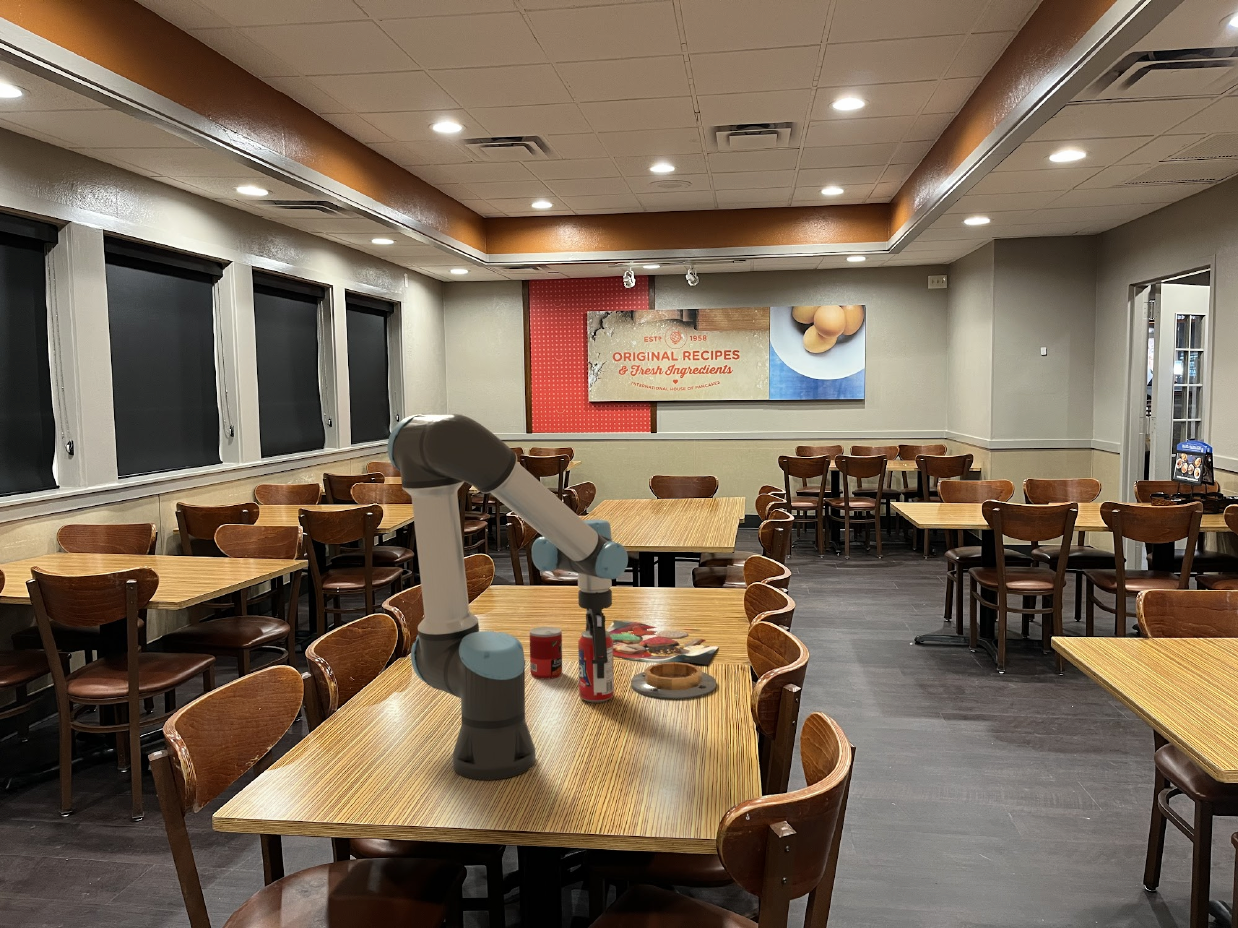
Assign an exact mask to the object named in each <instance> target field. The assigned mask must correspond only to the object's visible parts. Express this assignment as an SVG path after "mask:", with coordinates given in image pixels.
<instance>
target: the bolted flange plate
mask: <svg viewBox="0 0 1238 928" xmlns="http://www.w3.org/2000/svg"><path fill="white" fill-rule="evenodd" d="M716 681H717V680H716V678H715V677H713V676H712V675H711V674H709V673H706V672H703V671H702V669H701V668H700V667H699V666H697V665H694V664H692V663H691V664H690V663H688V662H679V661H677V662H665V663H654V664H652V665H651V664H650V665H648V667H647V668H644V671H642V672H639V673H637V674H635V675H633V677H632V678H631V679H630V687H631V689H632V690H633V691H634V692H636V693H638V694H640V695H641V696H645V697H648V698H653V697H654V698H653V699H661V700H688V699H689V700H690V699H697V698H700V697H703V696H706V695H708V694H711V693H712V692H714V691H715V689H716V688H717V682H716Z"/></svg>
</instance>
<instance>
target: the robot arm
mask: <svg viewBox="0 0 1238 928" xmlns="http://www.w3.org/2000/svg"><path fill="white" fill-rule="evenodd" d="M386 447H387V456H388V458H389V461H390V463H391V465H392V466H393V467H394V468H395V469H396V470H397V471H399V473H400V479H401V488H402V490H403V491H404V492H405V493H407V494H408V495H410V497H411V504H412V511H413V513H412V515H413V522H414V523H413V524H414V532H415V540H416V542H415V543H416V550H417V558H418V568H419V576H420V586H421V595H422V596H421V597H422V604H423V614H424V615H423V616H424V618H423V619H422V620H421V621H420V622H419V624H418V625H417V633H418V634H417V636H416V638H415V639H416V640H414V642H413V643H412V646H411V649H410V662H411V666H412V668H413V671H414V673H415V674H416V676H417V677H418V678H419V679H420V680H421V681H422V682H424V683H425V684H427V685H428V686H429V687H431V688H433V689H435V690H438V691H442V692H444V693H446V694H450V695H451V696H454V697H456V698H459V699H460V701H461V702H460V706H461V707H460V711H461V724H460V728H459V732H458V736H457V739H456V742H455V746H454V748H453V753H452V768H453V771H454V772H455V773H456V774H458V775H460V776H462V777H465V778H467V779H473V780H480V781H482V780H484V781H491V780H502V779H507V778H508V779H509V778H512V777H515V776H518V775H521V774H523V773H525V772H528V771H529V770H530V769H531V768H533V766H535V764H536V748H535V743H534V741H533V738H532V735H531V733H530V730H529V727H528V725H527V724H528V723H527V721H526V701H525V700H526V693H525V692H526V691H525V689H526V687H525V685H526V682H525V680H526V679H525V678H526V676H525V674H526V672H525V671H526V670H525V669H526V660H525V659H526V658H525V653H524V646H523V644H522V643H521V641H520V639H518V638H517V637H515V636H514V635H511V634H509V633H506V632H502V631H498V632H496V631H493V630H483V631H480V626H479V618H478V616H476V615H475V614H474V613H472V612H471V611H470V605H469V595H468V587H467V585H468V584H467V577H466V567H465V565H466V564H465V557H464V548H463V546H464V545H463V537H462V528H461V527H462V526H461V516H460V509H459V508H460V507H459V498H458V490H459V489H460V488H461V487H462V485H463V484H464V483H468V484H469V485H470V486H471V487H474V488H475V489H477V490H478V492H480V493H482V494H491V495H492V496H494V498H496V499H497V500H498V501H499V502H501V503H502V504H503V505H505V507H507V508H508V509H510V511H512V512H513V513H514V514H515V515H516V516H518V517H519V518H520V519H521V520H523V521H524V522H525V523H526V524H528V525H529V526H530V527H531V528H533V529H534V530H535V531H536V532H538V534H540V535H541V536H540V537H538V538H536V539H535V540H534V542H533V544H532V546H531V559H532V562H533V565H534V566H535V567H536V569H538V570H539V571H541V572H544V573H545V572H555V571H565V572H571V573H576V574H577V588H579V591H578V592H577V593H578V595H577V596H578V597H577V598H578V606H579V608H581V609H586V613H585V620H586V621H585V631H589V632H590V635H591V636H592V640H593V650H594V660H592V661H591V664H593V666H594V693H599V692H607V684H606V663H607V662H608V659H607V648H606V634H605V631H606V615H604V612H603V609H608V608H610V607H611V606H612V604H613V593H612V592H613V590H611V588H612V580H615V579H618V578H620V577H621V576H622V575H623V574H624V573H625V571H626V568H627V567H628V562H629V555H628V551H627V549H626V548H625V546H624V545H623V544H621V543H619V542H616V541H613V538H612V529H611V524H610V522H609V521H607V520H606V519H605V520H604V519H596V518H595V519H582V517H580V516H579V515H578V514H576V513H575V512H574V511H573V510H572V509H571V508H570V507H569V506H568V505H566V503H564V502H563V501H562V500H561V499H560V498H559V497H557V496H556V495H555V494H554V493H553V492H552V491H551V490H550V489H549V488H548V487H546V486H545V485H544V484H543V483H542V482H540V481H539V479H537V478H536V477H535V476H534V475H533V474H532V473H530V472H529V471H528V470H527V469H526V468H525V467H523V466H522V465H521V464H520V463H519V462H518V456H517V453H516V452H515V451H514V450H513V449H512V448H511V447H509V445H507V443H505V442H504V441H503V440H502V439H500V438H499V437H498V436H497V435H496V434H494V433H493V432H492V431H490V430H489V429H488V428H486V427H485V426H483V425H482V424H481V423H479V422H478V421H476V420H474V419H472V418H471V417H468V416H465V415H463V414H460V413H459V414H458V413H445V414H444V413H443V414H442V413H441V414H439V413H436V414H435V413H420V414H414V415H410V416H408V417H405V418H403V419H402V420H400V421H399V422H398V423H397V424H396V425H395V427H394V428H393V429H392V430H391V432H390V435H389V437H388V441H387V446H386ZM599 656H603V657H599Z"/></svg>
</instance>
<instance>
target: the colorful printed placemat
mask: <svg viewBox="0 0 1238 928" xmlns="http://www.w3.org/2000/svg"><path fill="white" fill-rule="evenodd" d="M657 628H658V627H656V626H654V625H653V626H651V625H648V624H645V623H642V622H636V621H628V620H627V621H626V620H616V619H615V620H613V621H612V622H611V624H610V625H609V626H608V627H607V628H606V629H605V631H608V632H610V636H611V638H612V639H613V658H617V659H620V658H622V659H621V660H625V661H627V662H629V661H628V660H630V662H631V661H638V662H639V661H640V662H646V663H654V664H659V663H669V662H679V663H689V664H690V663H691V664H692V663H693V664H699V665H709V664H710V661H711V660H712V658H713V656H714V654H715V653H716V650H717V649H718V648H719V646H715V645H705V644H702V643H704V642H706V639H703V638H694V639H691V640H689V641H688V642H686V643H684V644H683V645H681V646H680V643H679V642H678V641H676V640H680V639H685V638H688V637H690V635H689V634H688V633H687V632H686V631H691V632H692V631H694V632H695V631H700V629H691V628H683V630H684V631H680V630H679V631H678V630H663V631H659V632H658V631H656V630H652V629H657ZM647 629H648V630H647ZM628 631H633V632H631V633H629V632H628ZM621 632H626V633H623V634H622V633H621ZM656 632H657V633H656ZM633 634H634V635H633ZM644 636H653V637H649V638H646V639H644V638H643V637H644ZM677 646H680V647H677Z"/></svg>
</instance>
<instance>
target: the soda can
mask: <svg viewBox="0 0 1238 928" xmlns="http://www.w3.org/2000/svg"><path fill="white" fill-rule="evenodd" d="M605 634H606V648H607V659H608V662H607V663H606V684H607V692H599V693H594V666H593V664H591V661H592V660H594V650H593V640H592V636H591V635H590V632H589V631H586V630H585V631H583V632H581V634H580V635H581V636H580V638H579V639H578V640H577V641H578V642H577V643H578V646H577V648H578V649H577V650H578V695H579V697H580V698H581V699H582V700H585V701H586V702H587V703H594V704H597V703H599V704H600V703H605V702H607V701H609V700H610V699H612V698H614V695H615V687H614V686H615V682H614V681H615V680H614V679H615V677H614V674H615V673H614V672H615V670H614V666H615V665H614V656H613V639H612V638H611V636H610V632H608V631H606V630H605ZM599 657H603V656H599Z"/></svg>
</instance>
